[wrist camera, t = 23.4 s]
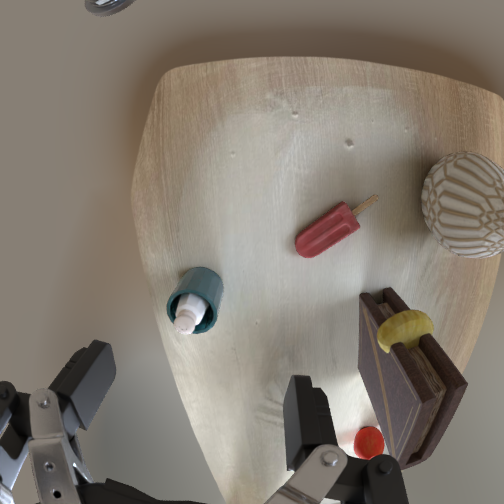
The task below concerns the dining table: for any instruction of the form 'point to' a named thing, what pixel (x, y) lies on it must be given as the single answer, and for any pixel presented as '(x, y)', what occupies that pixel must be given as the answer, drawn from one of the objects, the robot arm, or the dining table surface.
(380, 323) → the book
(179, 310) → the pepper shaker
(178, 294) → the cup
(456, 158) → the vase
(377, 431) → the apple
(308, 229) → the popsicle
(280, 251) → the dining table surface
